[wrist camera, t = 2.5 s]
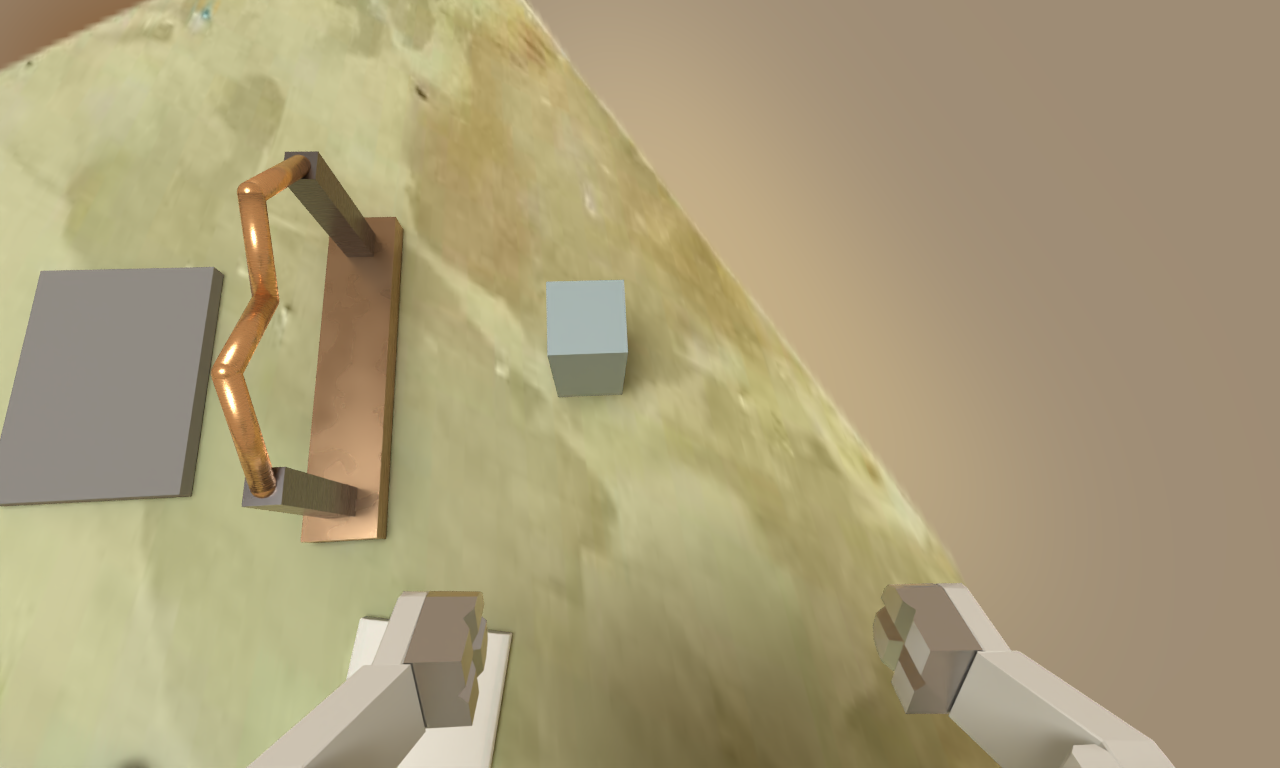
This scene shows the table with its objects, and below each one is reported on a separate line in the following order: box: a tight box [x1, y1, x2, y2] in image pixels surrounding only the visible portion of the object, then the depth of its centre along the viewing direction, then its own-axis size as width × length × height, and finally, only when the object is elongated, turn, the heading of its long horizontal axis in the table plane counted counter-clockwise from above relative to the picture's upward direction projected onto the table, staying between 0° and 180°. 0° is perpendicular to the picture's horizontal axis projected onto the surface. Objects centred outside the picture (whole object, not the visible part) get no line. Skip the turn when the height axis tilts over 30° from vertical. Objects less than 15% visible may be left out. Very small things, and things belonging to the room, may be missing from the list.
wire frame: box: [211, 152, 403, 543], centre depth 30 cm, size 20×4×14 cm, turn 4°
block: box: [546, 280, 628, 397], centre depth 34 cm, size 4×4×8 cm
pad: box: [0, 267, 224, 506], centre depth 35 cm, size 14×10×1 cm
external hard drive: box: [346, 616, 512, 768], centre depth 31 cm, size 2×8×12 cm
